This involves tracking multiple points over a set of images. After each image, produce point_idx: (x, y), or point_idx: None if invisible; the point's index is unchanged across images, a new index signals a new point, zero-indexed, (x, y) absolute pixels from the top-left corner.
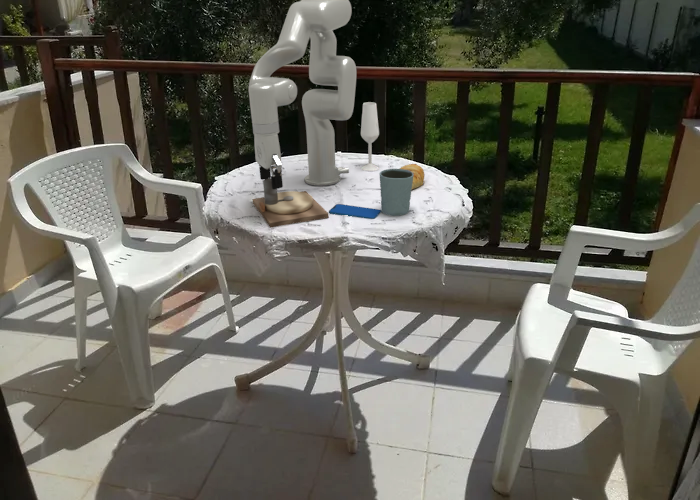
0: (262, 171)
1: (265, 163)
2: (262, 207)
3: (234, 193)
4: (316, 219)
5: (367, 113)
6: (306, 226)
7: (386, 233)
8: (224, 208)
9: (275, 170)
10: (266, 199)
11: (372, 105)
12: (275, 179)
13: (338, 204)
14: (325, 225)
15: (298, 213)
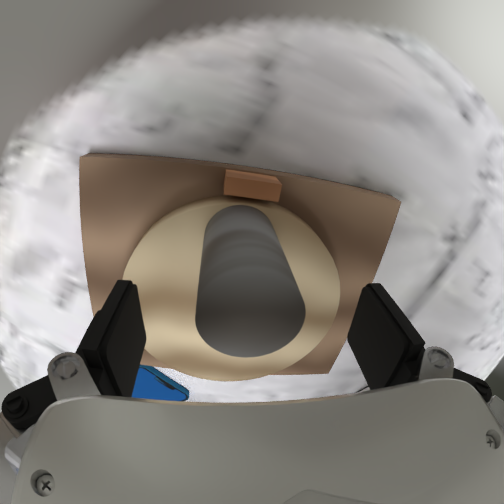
0: (385, 334)
1: (40, 463)
2: (225, 178)
3: (486, 190)
4: None
5: None
6: (60, 272)
7: (14, 373)
8: (409, 80)
9: (7, 409)
10: (226, 218)
11: None
12: (79, 348)
13: (184, 397)
14: (58, 316)
15: None
